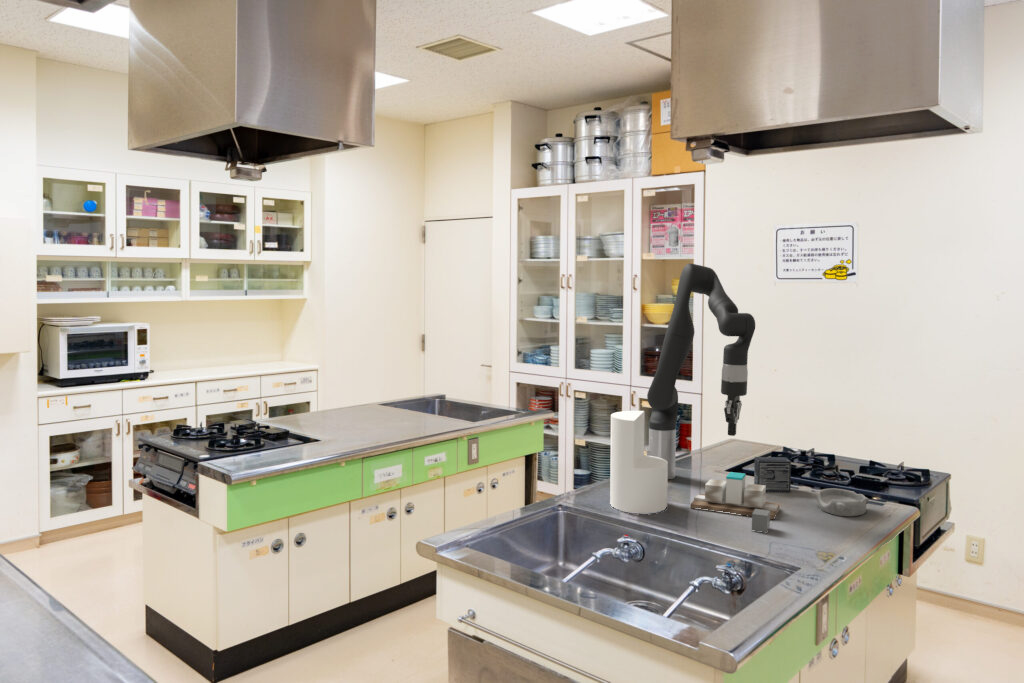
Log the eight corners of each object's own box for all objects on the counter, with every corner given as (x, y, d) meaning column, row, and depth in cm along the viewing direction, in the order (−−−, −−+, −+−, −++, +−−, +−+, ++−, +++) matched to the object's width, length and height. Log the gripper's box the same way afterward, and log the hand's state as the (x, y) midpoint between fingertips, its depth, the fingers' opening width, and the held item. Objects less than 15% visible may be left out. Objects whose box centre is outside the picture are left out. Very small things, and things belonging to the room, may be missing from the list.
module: (725, 502, 226) (726, 476, 225) (729, 497, 231) (730, 471, 231) (741, 504, 224) (741, 478, 223) (744, 499, 229) (745, 473, 228)
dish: (845, 520, 216) (846, 503, 216) (806, 507, 229) (806, 491, 228) (878, 513, 223) (879, 496, 223) (839, 501, 235) (839, 485, 235)
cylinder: (604, 511, 226) (605, 419, 223) (616, 495, 242) (617, 409, 240) (662, 517, 220) (663, 422, 218) (671, 500, 236) (672, 412, 234)
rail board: (690, 508, 228) (690, 485, 227) (699, 498, 238) (700, 475, 238) (773, 520, 217) (774, 495, 216) (779, 508, 227) (780, 484, 227)
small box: (786, 487, 250) (786, 456, 249) (791, 493, 244) (792, 461, 243) (753, 486, 251) (754, 456, 250) (757, 492, 245) (758, 460, 244)
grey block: (751, 531, 208) (752, 513, 207) (754, 526, 212) (755, 508, 212) (766, 533, 206) (767, 515, 205) (769, 528, 210) (770, 510, 210)
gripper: (727, 375, 235) (724, 429, 237) (716, 380, 224) (714, 437, 225) (751, 377, 232) (749, 432, 233) (742, 382, 220) (739, 440, 222)
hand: (731, 435), depth 229 cm, fingers closed
